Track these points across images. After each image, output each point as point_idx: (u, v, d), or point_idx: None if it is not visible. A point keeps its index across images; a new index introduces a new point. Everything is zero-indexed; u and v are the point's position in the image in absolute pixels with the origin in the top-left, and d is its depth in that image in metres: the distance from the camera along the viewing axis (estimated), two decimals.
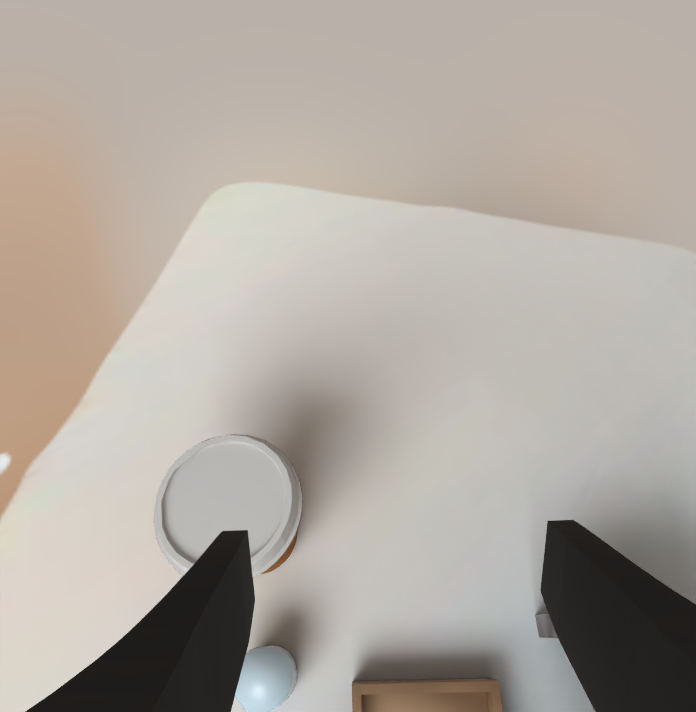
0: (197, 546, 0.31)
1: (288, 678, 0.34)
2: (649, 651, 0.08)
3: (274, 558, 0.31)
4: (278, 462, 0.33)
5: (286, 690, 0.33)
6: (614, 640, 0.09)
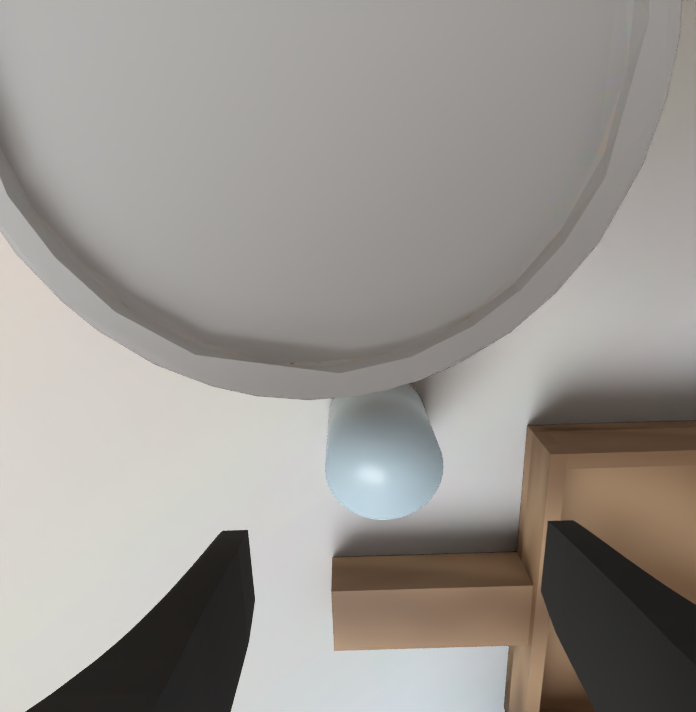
0: (207, 278, 0.07)
1: (440, 466, 0.16)
2: (649, 651, 0.08)
3: None
4: None
5: (436, 484, 0.17)
6: (614, 640, 0.09)
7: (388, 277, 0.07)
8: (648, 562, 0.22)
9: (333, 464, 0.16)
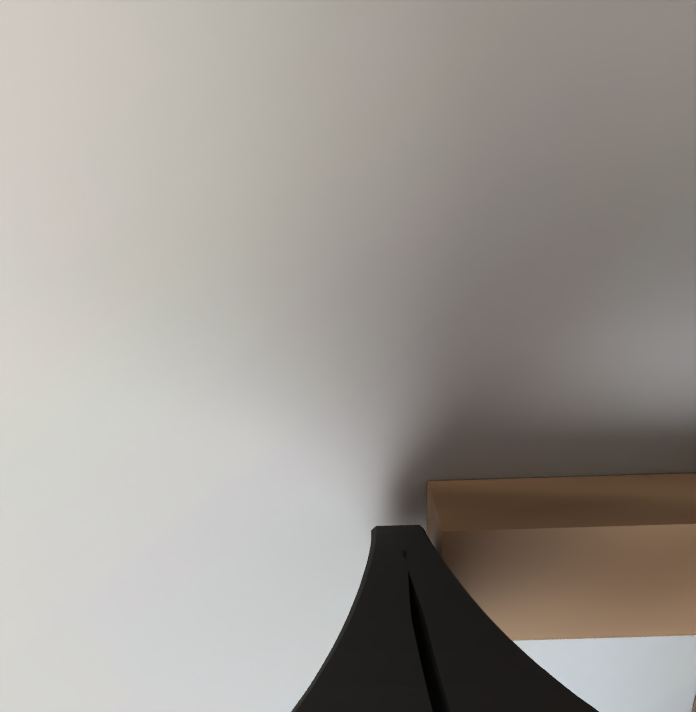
0: None
1: None
2: (427, 658, 0.08)
3: None
4: None
5: None
6: (417, 647, 0.09)
7: None
8: None
9: None
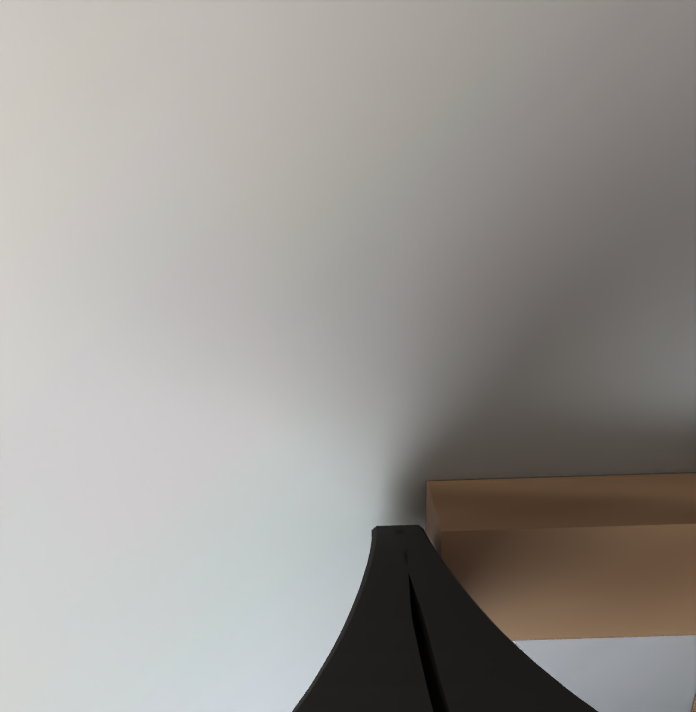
0: None
1: None
2: (427, 658, 0.08)
3: None
4: None
5: None
6: None
7: None
8: None
9: None
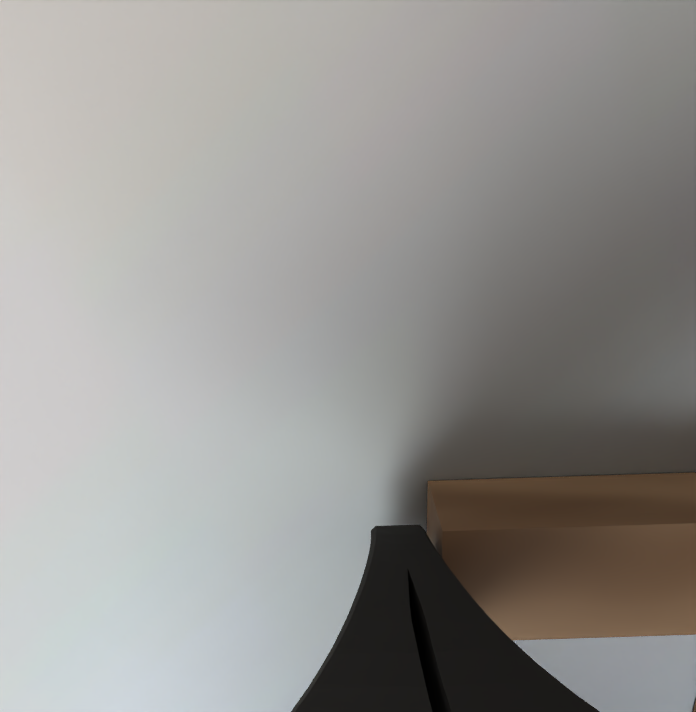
0: None
1: None
2: (428, 658, 0.08)
3: None
4: None
5: None
6: (417, 646, 0.09)
7: None
8: None
9: None
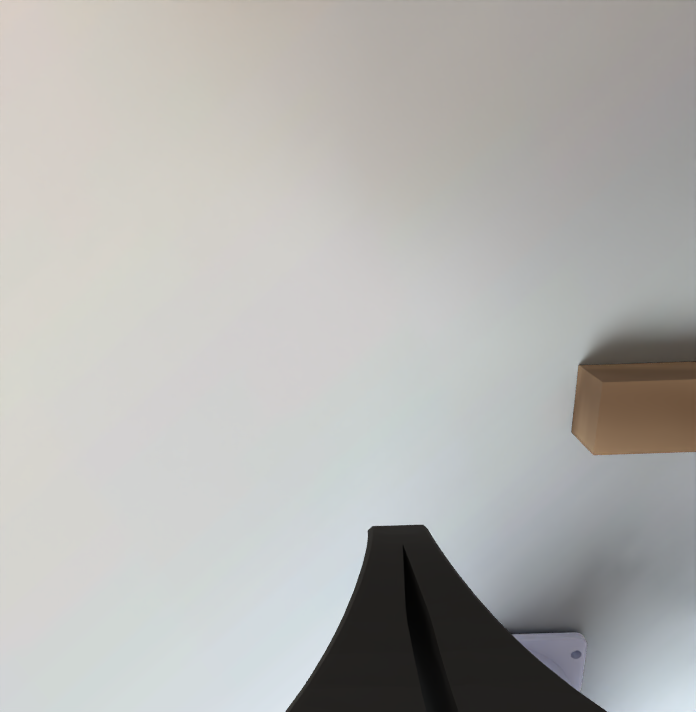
0: None
1: None
2: (433, 658, 0.08)
3: None
4: None
5: None
6: (422, 646, 0.09)
7: None
8: None
9: None
